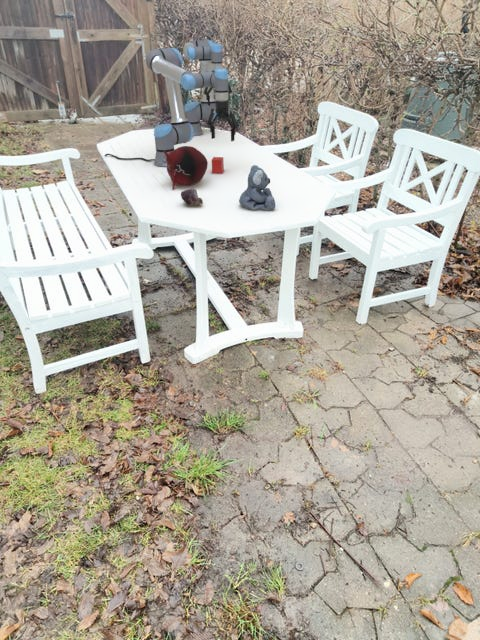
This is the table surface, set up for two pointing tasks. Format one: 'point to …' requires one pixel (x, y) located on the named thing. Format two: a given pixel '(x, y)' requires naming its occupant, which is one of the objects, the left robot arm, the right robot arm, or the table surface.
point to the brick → (217, 165)
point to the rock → (191, 197)
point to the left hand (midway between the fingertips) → (222, 139)
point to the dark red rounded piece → (186, 165)
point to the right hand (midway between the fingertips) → (218, 104)
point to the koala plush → (257, 191)
